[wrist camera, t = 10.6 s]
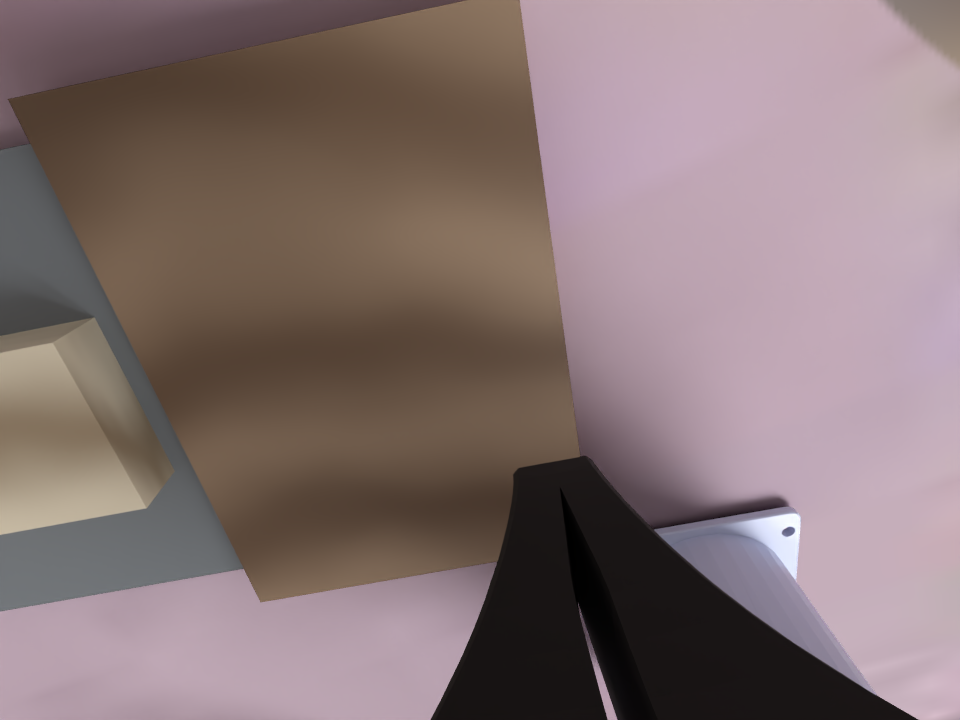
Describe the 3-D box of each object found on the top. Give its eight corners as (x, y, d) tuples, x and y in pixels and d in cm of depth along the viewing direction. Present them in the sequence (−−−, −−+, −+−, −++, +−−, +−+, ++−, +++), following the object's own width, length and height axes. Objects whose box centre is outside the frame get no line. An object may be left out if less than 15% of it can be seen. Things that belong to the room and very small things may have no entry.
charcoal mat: (263, 554, 22) (258, 566, 22) (-17, 604, 23) (-28, 616, 22) (65, 137, 16) (51, 138, 15) (-326, 220, 16) (-353, 224, 16)
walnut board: (583, 517, 22) (592, 544, 21) (272, 572, 23) (260, 602, 22) (512, -1, 15) (517, -12, 13) (47, 99, 15) (8, 98, 14)
